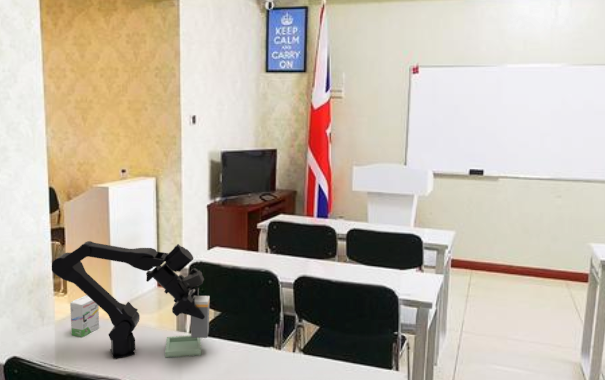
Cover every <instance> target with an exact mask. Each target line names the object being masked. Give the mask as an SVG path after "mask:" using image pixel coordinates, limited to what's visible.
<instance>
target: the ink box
mask: <svg viewBox="0 0 605 380" xmlns="http://www.w3.org/2000/svg"><path fill="white" fill-rule="evenodd" d="M69 307H70V325H71V326H70V327H71V336H75V337H80V338H84V337H85V336H87V335H89V334H90V333H91V334H92V332H94V331H96V330H98V329H99V328H100V312H99V309H100V307H99V306H98V305H97V304H96V303H95V302H94V301H93V300H92V299H91V298H90V297H88V296H87V295H86V294H85V295H83V296H82V297H79V298H76V299H74V300H72V301H71V302H70V305H69Z"/></svg>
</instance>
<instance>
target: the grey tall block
mask: <svg viewBox="0 0 605 380" xmlns="http://www.w3.org/2000/svg"><path fill="white" fill-rule="evenodd" d="M193 298H195V304H196V306H197V307H198V308H199V309H200V311H201V312H202V313H203V315H204V316H205V318H204V319H200V318H196V317H193V316H190V318H191V319H190V320H191V323H190V332H191V333H190V335H191V338H200V339H207V338H208V336H209V332H210V301H211V300H210V295H199V296H194V297H193Z"/></svg>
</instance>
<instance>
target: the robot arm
mask: <svg viewBox="0 0 605 380" xmlns="http://www.w3.org/2000/svg"><path fill="white" fill-rule="evenodd" d="M85 258H95V259H100V260H106V261H113V262H118V263H125V264H127V265H130V266H131V267H132V268H135V269H137V270H140V271H144V272H146V279H145V280H146V282H149V281H151V280H152V279H154V280H155V281H156V282H157V283H158V284H159V285H160V286H161V287H162V288H163V289H164V291H163V292H164V293H165V295H168V294H169V295H170V296H171V297H172V298H173V302H174V304H173V305H172V308H171V309H172V314H173V315H174V316H176V317H178V316H179V315H180V314H181V315H182V314H183V315H187V316H190V317H191V316H193V317H196V318H200V319H204V318H205V316H204V315H203V313H202V312H201V311H200V309H199V308H198V307H197V306H196V304H195V298H193V297H194V296H200V295H199V290H200V287H199V286H201V285H203V283H204V281H205V278H204V276H203V272H202V271H201V270H200V269H199V270H198V269H197V268H196V267H195V268H192V269H191V270H190V273H189V274H188V275H187V276H185V277H184V275H182V274H179V275H178V274H177V273H176V272H181V271H183V269H184V268H186V267H187V265H189V264H190V263H192V261H193V260H194V256H193V254H192V253H191V251H189V250H188V249H187V248H185V247H184V246H182V245H180V244H179V243H178V244H176V245H175V246H174V247H173V249H171V251H170V252H164V251H162V252H161V251H157V249H155V248H153V247H138V248H137V247H136V248H127V247H121V246H116V245H115V246H114V245H111V244H110V245H109V244H103V243H97V242H94V241H91V240H89V241H85V242H84V243H82V244H81V245H80V246H79V247H77V248H76V249H75V250H73V251H72V252H65V253H63V254H61V255H60V256H58V257H56V258H55V259H54V260H53V261H52V263H51V272H52V273H53V274H54V275H56V276H57V277H58V278H60V279H62V280H63V281H66V282H68V283H71V284H74V285H75V286H76V287H77V288H78V289H79V290H80V291H81V292H83V293H84V294H85V296H86V295H87V296H88V297H90V298H91V299H92V300H93V301H94V302H95V303H96V304H97V305H98V307H99V308H101V309H102V310H103V311H104V312H105V313H106V314H107V315H108V317H109V319H110V321H111V324H112V325H113V327H112V329H111V330H110V331H109V333H108V336H109V340H110V345H111V346H110V348H109V352H110V353H111V355H112V358H113V359H119V358H123V357H124V358H125V357H129V356H134V355H135V353H136V352H135V351H136V338H135V336H134V333H133V331H134V330H135V329H136V327H137V325H138V324H139V322H140V318H141V317H140V313H139V312H138V310H139V309H138V308H136V307H134V306H133V304H132V303H131V302H130V301H127V303H126V304H124V303H121V302H119V301H118V300H117V299H116V297H114V296H113V295H112V294H110V293H109V292H108V291H107V290H106V289H105V288H104V287H103V286H102V285H101V284H99V283H98V282H97V281H96V280H95V279H94V278H93V277H92V276H91V275H90V274H89V273H87V272H86V268H85V267H84V265H83V263H82V260H84V259H85ZM195 288H196V289H195Z"/></svg>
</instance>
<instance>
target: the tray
mask: <svg viewBox="0 0 605 380" xmlns="http://www.w3.org/2000/svg"><path fill="white" fill-rule="evenodd" d="M201 341H202V340H201V338H191V334H190V335H179V336H178V335H174V336H166V341H165V350H164V354H165V355H164V358H165V359H168V358H169V359H170V358H172V359H173V358H182V357H185V358H186V357H198V356H200V357H201V356H202V347H201V346H202V344H201V343H202V342H201Z"/></svg>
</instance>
